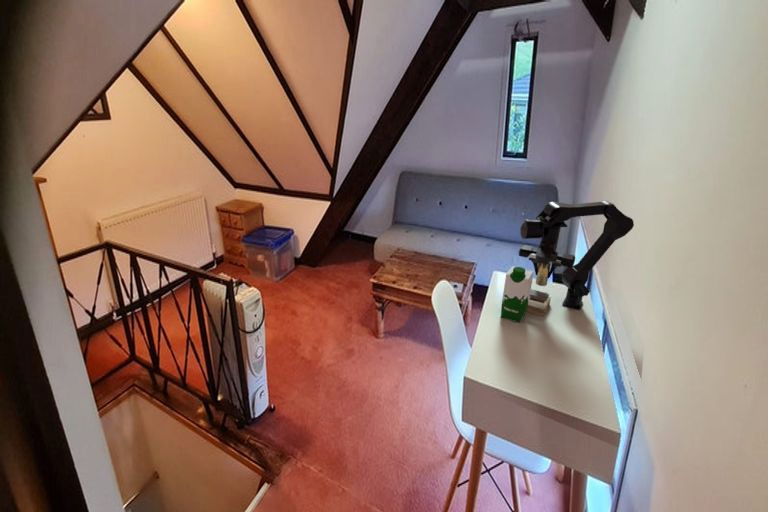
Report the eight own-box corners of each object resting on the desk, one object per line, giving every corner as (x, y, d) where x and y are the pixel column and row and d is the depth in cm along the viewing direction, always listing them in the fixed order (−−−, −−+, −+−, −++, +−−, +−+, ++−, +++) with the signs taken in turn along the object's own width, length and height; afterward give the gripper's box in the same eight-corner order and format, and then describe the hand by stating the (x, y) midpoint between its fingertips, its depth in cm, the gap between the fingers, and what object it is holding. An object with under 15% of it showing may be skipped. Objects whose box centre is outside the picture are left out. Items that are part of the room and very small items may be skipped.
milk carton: (497, 317, 144) (504, 268, 136) (504, 306, 151) (512, 259, 143) (521, 324, 140) (530, 275, 132) (528, 313, 147) (537, 265, 139)
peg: (534, 284, 148) (538, 262, 144) (537, 280, 151) (541, 259, 147) (545, 287, 146) (549, 265, 142) (547, 282, 149) (552, 261, 145)
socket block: (528, 298, 157) (531, 281, 154) (549, 304, 153) (553, 287, 150) (521, 309, 149) (524, 292, 146) (543, 316, 145) (546, 298, 142)
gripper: (517, 239, 139) (511, 278, 146) (574, 251, 130) (564, 292, 136) (525, 230, 148) (519, 267, 154) (579, 240, 139) (570, 279, 145)
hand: (542, 276), depth 147 cm, fingers closed on peg, 4 cm apart
